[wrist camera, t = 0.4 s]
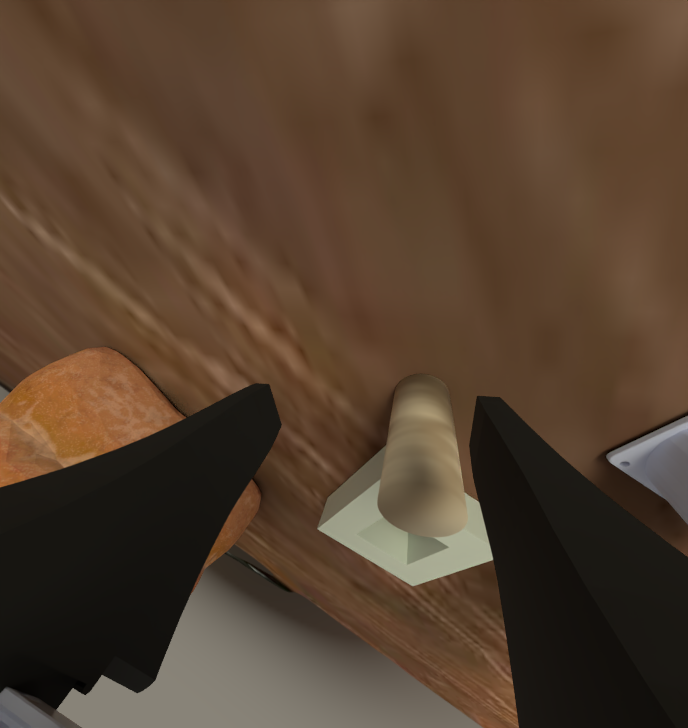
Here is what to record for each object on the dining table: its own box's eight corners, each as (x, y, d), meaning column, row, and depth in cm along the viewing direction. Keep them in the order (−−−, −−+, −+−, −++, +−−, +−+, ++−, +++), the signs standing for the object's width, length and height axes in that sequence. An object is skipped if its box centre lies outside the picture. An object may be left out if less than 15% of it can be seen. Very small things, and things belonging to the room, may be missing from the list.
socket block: (496, 512, 23) (506, 555, 20) (413, 549, 30) (412, 586, 27) (387, 444, 23) (381, 478, 20) (327, 497, 29) (317, 528, 26)
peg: (462, 394, 18) (489, 518, 11) (425, 424, 20) (427, 546, 13) (416, 364, 18) (411, 469, 11) (384, 398, 20) (361, 506, 13)
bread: (222, 509, 38) (123, 653, 26) (73, 378, 31) (-164, 489, 19) (280, 495, 32) (187, 678, 19) (109, 326, 25) (-217, 441, 12)
